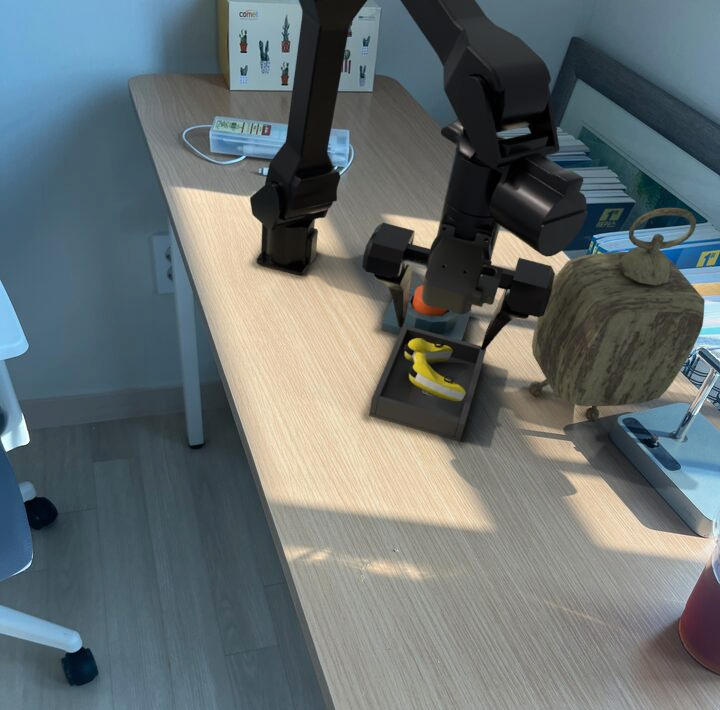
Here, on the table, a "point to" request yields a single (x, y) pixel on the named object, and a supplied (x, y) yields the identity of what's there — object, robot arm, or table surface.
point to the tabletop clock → (618, 324)
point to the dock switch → (427, 321)
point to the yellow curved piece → (431, 370)
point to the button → (424, 308)
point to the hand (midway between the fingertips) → (441, 336)
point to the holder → (407, 401)
